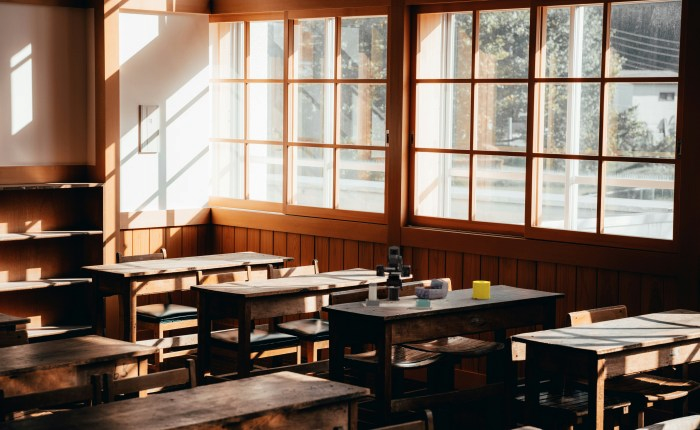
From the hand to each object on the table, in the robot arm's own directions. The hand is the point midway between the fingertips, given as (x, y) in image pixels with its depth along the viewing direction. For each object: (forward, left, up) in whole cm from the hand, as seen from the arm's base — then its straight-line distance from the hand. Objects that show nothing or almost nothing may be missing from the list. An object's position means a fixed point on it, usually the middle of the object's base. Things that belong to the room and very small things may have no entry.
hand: (392, 276), depth 579 cm
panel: (+4, +2, -16) cm, 17 cm away
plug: (+5, -11, -15) cm, 20 cm away
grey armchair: (-34, +27, -17) cm, 47 cm away
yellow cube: (-36, +57, -17) cm, 69 cm away
